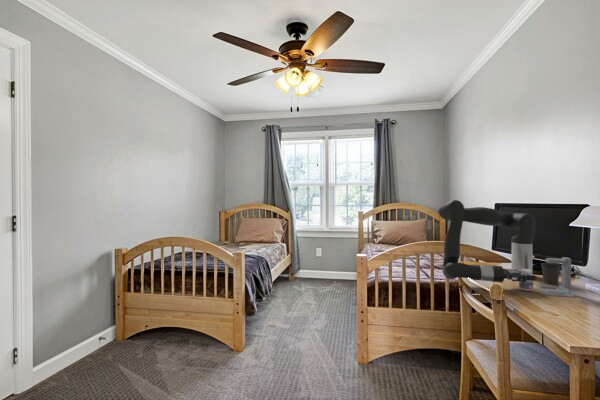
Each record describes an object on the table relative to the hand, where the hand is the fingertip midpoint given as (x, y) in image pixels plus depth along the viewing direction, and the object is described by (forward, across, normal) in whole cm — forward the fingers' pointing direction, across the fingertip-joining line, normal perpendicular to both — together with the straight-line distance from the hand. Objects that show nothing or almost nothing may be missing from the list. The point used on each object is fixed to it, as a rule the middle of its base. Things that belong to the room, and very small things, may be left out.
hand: (532, 276), depth 137 cm
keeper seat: (+8, 0, +6) cm, 11 cm away
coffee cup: (+13, +16, +7) cm, 22 cm away
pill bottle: (-3, 0, +6) cm, 7 cm away
